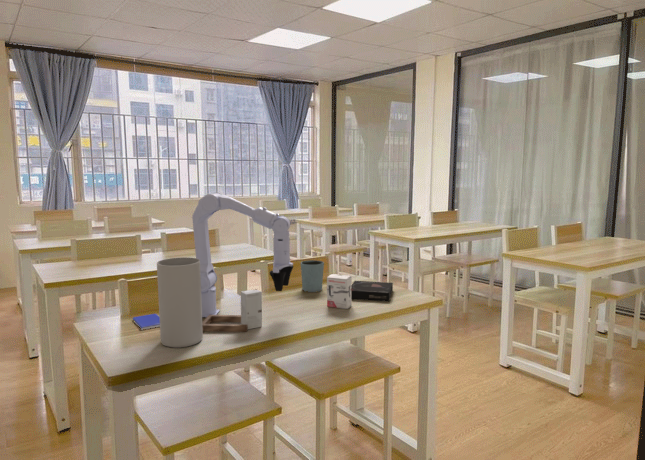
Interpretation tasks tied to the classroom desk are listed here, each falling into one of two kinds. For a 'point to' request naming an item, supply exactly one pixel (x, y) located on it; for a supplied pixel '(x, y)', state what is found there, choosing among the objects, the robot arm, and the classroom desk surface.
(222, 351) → the classroom desk surface
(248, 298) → the skincare box
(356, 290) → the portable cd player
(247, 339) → the classroom desk surface
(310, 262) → the teal cup
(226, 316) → the u rest
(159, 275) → the cylinder vase
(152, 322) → the hard drive
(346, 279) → the ink box
